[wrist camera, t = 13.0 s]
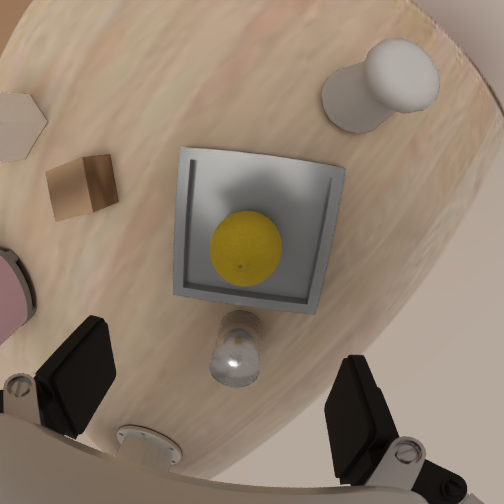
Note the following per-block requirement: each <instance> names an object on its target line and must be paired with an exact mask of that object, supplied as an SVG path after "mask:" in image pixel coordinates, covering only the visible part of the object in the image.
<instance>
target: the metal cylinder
mask: <svg viewBox="0 0 504 504" xmlns="http://www.w3.org/2000/svg"><path fill="white" fill-rule="evenodd" d="M261 330H262V326H261V323H260V321H259V319H258V318H257V317H256V316H255V315H254V314H252V313H250V312H247V311H241V310H239V311H233V312H230V313H229V314H227V315H226V316H225V317H224V318H223V320H222V323H221V327H220V330H219V334H218V337H217V341H216V344H215V348H214V352H213V355H212V359H211V362H210V372H211V374H212V376H213V377H214V378H215V379H216V380H217V381H218V382H220V383H221V384H224V385H226V386H230V387H244V386H247V385H250V384H251V383H253V382H254V381H255V380H256V379H257V377H258V374H259V361H260V346H261Z"/></svg>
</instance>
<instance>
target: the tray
mask: <svg viewBox="0 0 504 504" xmlns="http://www.w3.org/2000/svg"><path fill="white" fill-rule="evenodd" d="M345 170H346V168H342V167H338V166H332V165H327V164H322V163H316V162H310V161H304V160H298V159H291V158H285V157H278V156H270V155H263V154H255V153H246V152H237V151H227V150H216V149H204V148H190V147H180V155H179V166H178V178H177V192H176V208H175V228H174V259H173V295H177V296H183V297H189V298H195V299H201V300H208V301H214V302H221V303H227V304H234V305H241V306H248V307H256V308H263V309H271V310H279V311H288V312H296V313H305V314H315V313H316V309H317V305H318V301H319V297H320V293H321V289H322V285H323V281H324V277H325V272H326V268H327V263H328V259H329V254H330V250H331V245H332V240H333V236H334V231H335V226H336V221H337V215H338V210H339V205H340V199H341V194H342V188H343V182H344V176H345ZM240 211H254V212H257V213H260V214H262V215H264V216H266V217H267V218H269V219H270V220H271V221H272V222H273V223H274V224H275V226H276V228H277V230H278V231H279V233H280V237H281V241H282V254H281V258H280V261H279V264H278V266H277V267H276V269H275V271H274V272H273V273H272V274H271V275H270V276H269V277H268V278H267V279H266V280H265V281H263V282H261V283H259V284H256V285H253V286H244V287H242V286H237V285H233V284H231V283H229V282H227V281H225V280H224V279H223V278H221V276H220V275H219V274H218V273H217V272H216V270H215V268H214V266H213V264H212V262H211V257H210V242H211V238H212V235H213V233H214V230H215V229H216V228H217V226H218V225H219V223H220V222H221V221H222V220H224V219H225V218H226V217H227V216H229V215H231V214H233V213H235V212H240Z"/></svg>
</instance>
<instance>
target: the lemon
mask: <svg viewBox="0 0 504 504" xmlns="http://www.w3.org/2000/svg"><path fill="white" fill-rule="evenodd" d="M281 254H282V241H281V237H280V233H279V231H278V230H277V228H276V226H275V224H274V223H273V222H272V221H271V220H270V219H269V218H267V217H266V216H264V215H262V214H260V213H257V212H254V211H240V212H235V213H233V214H231V215H229V216H227V217H226V218H225V219H224V220H222V221H221V222H220V223H219V225H218V226H217V228H216V229H215V230H214V233H213V235H212V238H211V242H210V257H211V262H212V264H213V266H214V268H215V270H216V272H217V273H218V274H219V275H220V276H221V278H223V279H224V280H225V281H227V282H229V283H231V284H233V285H237V286H242V287H244V286H253V285H256V284H259V283H261V282H263V281H265V280H266V279H267V278H268V277H269V276H270V275H271V274H272V273H273V272H274V271H275V269H276V267H277V266H278V264H279V261H280V258H281Z"/></svg>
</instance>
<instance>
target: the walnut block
mask: <svg viewBox="0 0 504 504" xmlns="http://www.w3.org/2000/svg"><path fill="white" fill-rule="evenodd" d="M46 178H47V183H48V189H49V194H50V199H51V204H52V208H53V213H54V217H55V221H56V222H57V221H61V220H65V219H68V218H72V217H76V216H80V215H84V214H89V213H93V212H95V211H98V210H100V209H102V208H105V207H107V206H110V205H112V204H114V203H117V202H119V200H118V195H117V190H116V185H115V180H114V174H113V169H112V163H111V157H110V154H109V155H98V156H89V157H82V158H79V159H76V160H74V161H71V162H68V163H66V164H63V165H61V166H58V167H56V168H53V169H51V170H49V171H46Z"/></svg>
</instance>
